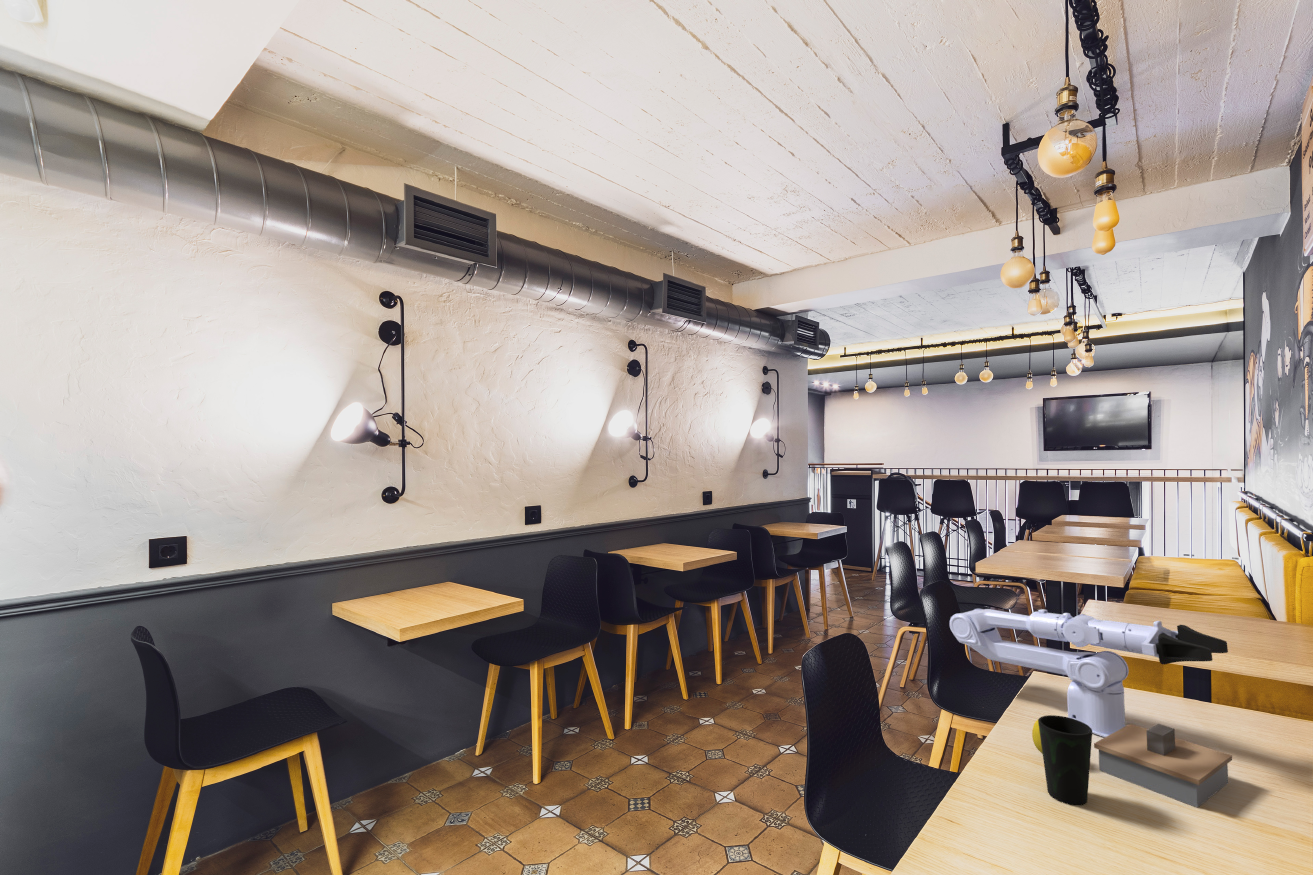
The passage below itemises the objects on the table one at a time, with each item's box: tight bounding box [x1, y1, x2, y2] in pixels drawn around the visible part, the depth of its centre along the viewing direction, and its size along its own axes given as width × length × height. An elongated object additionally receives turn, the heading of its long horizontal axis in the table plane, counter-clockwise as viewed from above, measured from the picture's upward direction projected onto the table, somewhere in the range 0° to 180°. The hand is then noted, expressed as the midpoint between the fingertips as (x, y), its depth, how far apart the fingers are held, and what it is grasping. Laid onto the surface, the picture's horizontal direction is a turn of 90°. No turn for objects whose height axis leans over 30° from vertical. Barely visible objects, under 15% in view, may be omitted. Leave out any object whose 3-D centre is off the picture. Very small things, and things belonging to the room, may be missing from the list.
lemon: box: [1031, 719, 1043, 755], centre depth 115 cm, size 6×6×8 cm
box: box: [1098, 749, 1229, 808], centre depth 108 cm, size 14×14×4 cm
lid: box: [1093, 723, 1233, 785], centre depth 108 cm, size 15×15×4 cm
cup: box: [1037, 714, 1093, 807], centre depth 103 cm, size 8×8×12 cm
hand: (1219, 650), depth 111 cm, fingers open, 7 cm apart
